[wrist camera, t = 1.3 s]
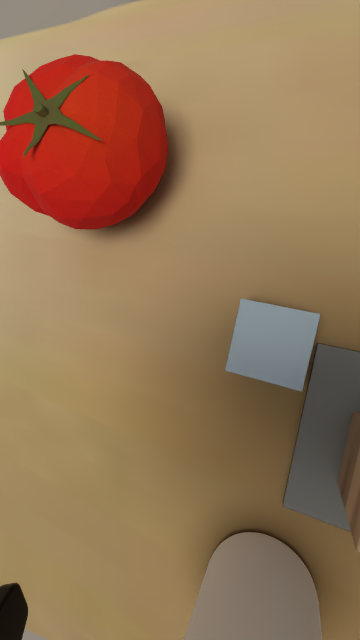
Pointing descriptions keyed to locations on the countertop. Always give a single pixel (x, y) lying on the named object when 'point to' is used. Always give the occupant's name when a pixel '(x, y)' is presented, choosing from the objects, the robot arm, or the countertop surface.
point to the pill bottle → (255, 593)
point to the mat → (324, 436)
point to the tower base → (349, 457)
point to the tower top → (354, 505)
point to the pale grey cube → (272, 343)
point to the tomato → (83, 142)
